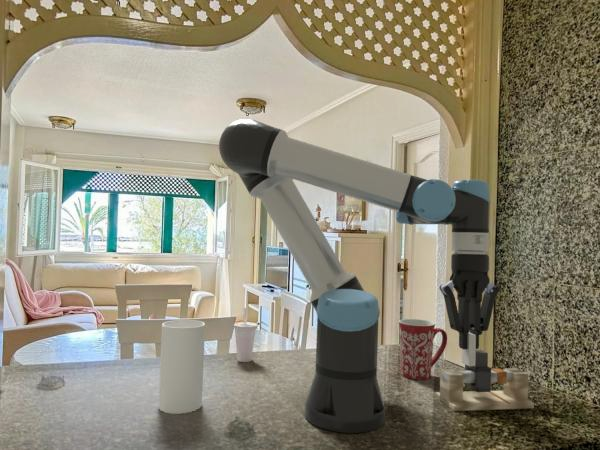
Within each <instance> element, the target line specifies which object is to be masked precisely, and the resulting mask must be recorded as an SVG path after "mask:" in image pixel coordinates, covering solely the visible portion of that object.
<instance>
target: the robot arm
mask: <svg viewBox="0 0 600 450" xmlns="http://www.w3.org/2000/svg"><path fill="white" fill-rule="evenodd" d="M218 150H219V155H220V158H221V159H222V161H223V163H224V164H225V166H226V167H227V168H229V169H230V170H231V171H232V172H234V173H236V174H238V176H239V178H240V179H241V181H242V183H243V185H244V186H245V189H246V190H247V192H248V194H249V195H250V196H251V197H253V198H257V199H259V200H260V201H261V203H262V205H263V207H264V208H265V210H266V212H267V214H268V215H269V217H270V219H271V221H272V222H273V224H274V226H275V228H276V230H277V232H278V233H279V235H280V237H281V239H282V240H283V242H284V243H285V244H284V245H286V246H287V249H288V251H289V252H290V254H291V257H293V259H294V261H295V263H296V265H297V266H298V268H299V270H300V272H301V273H302V275H303V278H304V279H305V281H306V282H307V284H308V286H309V288H310V290H311V294H310V298H309V301H310V303H311V305H312V307H313V309H314V311H315V312H316V317H317V319H316V323H317V324H316V344H315V347H316V348H315V372H314V373H315V374H314V376H313V379H312V382H311V385H310V388H309V391H308V392H307V393H308V394H307V396H306V399H305V402H304V403H305V404H304V417H305V419H306V420H307V421H308V422H309V423H310V424H312V425H314V426H316V427H318V428H321V429H324V430H327V431H332V432H337V433H348V434H357V433H358V434H359V433H360V434H361V433H367V432H372V431H375V430H377V429H379V428H381V427H382V426H383V425H384V424H385V421H386V407H385V406H386V405H385V403H384V400H383V396H382V393H381V389H380V386H379V382H378V376H377V373H378V345H379V343H378V341H379V339H378V338H379V318H380V313H381V311H380V306H379V301H378V298H377V296H375V295H374V294H373V293H371V292H367V291H365V290H364V287H363V286H362V285H361V283H360V281H359V279H358V278H357V276H356V274H355V273H351V272H347V271H346V270H345V269H344V266H343V265H342V264H341V261H340V260H339V259H338V258H339V257H338V256H337V254H336V253H335V252H334V250H333V248H332V246H331V244H330V242H329V241H328V239H327V237H326V236H325V234H324V232H323V231H322V229H321V227H320V225H319V223H318V221H317V220H316V218H315V217H314V215H313V213H312V212H311V210H310V208H309V206H308V205H307V203H306V201H305V199H304V198H303V196H302V194H301V192H300V190H299V189H298V187H297V186H296V184H295V181H294V180H296V181H298V182H302V183H306V184H308V185H312V186H314V187H318V188H321V189H324V190H327V191H330V192H334V193H337V194H339V195H342V196H346V197H349V198H353V199H355V200H359V201H362V202H365V203H368V204H372V205H374V206H377V207H381V208H385V209H387V210H390V211H391V210H392V211H393V212H395V220H396V223H399V224H401V225H402V224H405V225H410V226H411V225H448V226H449V225H451V251H453V252H454V253H452V254H451V258H450V259H451V260H450V261H451V262H450V265H451V267H450V269H451V275H450V277H449V281H447V283H445V284H440V285H439V291H441V294H442V296H443V299H444V305H445V308H446V309H445V310H446V312H447V318H448V321H449V327H450V329H452V330H454V331H456V332H458V346H459V348H460V349H461V350H462V352H461V353H462V354H461V363H462V364H464V365H465V364H466V365H468V366H475V357H476V350H479V348H480V336H481V335H482V334H483V332H487V331H488V330H489V327H490V322H491V319H492V314H493V309H494V305H495V300H496V297H497V295H498V293H499V292H500V291H501V288H500V286H497V285H494V284H493V283H492V282H491V281H490V277H489V271H490V256H489V254H487V253H488V252H489V251H490V241H489V240H490V207H491V206H490V205H491V199H490V198H491V197H490V186H489V183H488V182H487V181H485V180H483V179H461V180H455V181H453V183H452V186H451V185H450V184H448V183H447V182H446V181H443V180H441V179H434V178H432V179H426V178H423V177H419V176H416V175H413V174H412V175H411V174H410V173H406V172H402V171H399V170H396V169H393V168H390V167H386V166H383V165H380V164H377V163H374V162H370V161H367V160H363V159H362V158H361V159H360V158H358V157H354V156H350V155H347V154H344V153H341V152H339V151H334V150H331V149H328V148H324V147H321V146H318V145H315V144H312V143H309V142H306V141H305V142H304V141H302V140H298V139H295V138H293V137H289V136H288V133H287V131H286V130H283V129H280V128H277V127H274V126H271V125H269V124H265V123H264V122H261V121H258V120H256V119H251V118H241V119H238V120H235V121H233V122H231V123H230V124H229V125H227V126H226V127H225V128H224V130H223V131H222V133H221V135H220V138H219V143H218ZM454 292H456V293H457V294H456V297H457V298H456V297H455V294H454ZM483 293H484V294H483ZM456 299H457V301H456ZM457 302H458V304H457Z"/></svg>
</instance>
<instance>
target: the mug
mask: <svg viewBox="0 0 600 450" xmlns="http://www.w3.org/2000/svg"><path fill="white" fill-rule="evenodd" d="M398 325H399V348H400V373H401V376H402V377H404V378H407V379H411V380H419V381H421V380H428V379H430V378H431V376H432V368H433V366H434V365H436V363H437V362H438V361H439V359H440V358H441V357H442V355H443V353H444V351H445V349H446V347H447V345H448V334H447V332H446V331H445V330H444V329H443V328H440V327H435V326H436V323H435V322H434V321H431V320H427V319H419V318H404V319H400V320H398ZM438 333H441V337H442V338H441V339H442V340H441V344H440V345H439V348H438V350H437V351H436V353H435V354H434V356H433V349H434V340H435V338H436V336H437V334H438Z"/></svg>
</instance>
